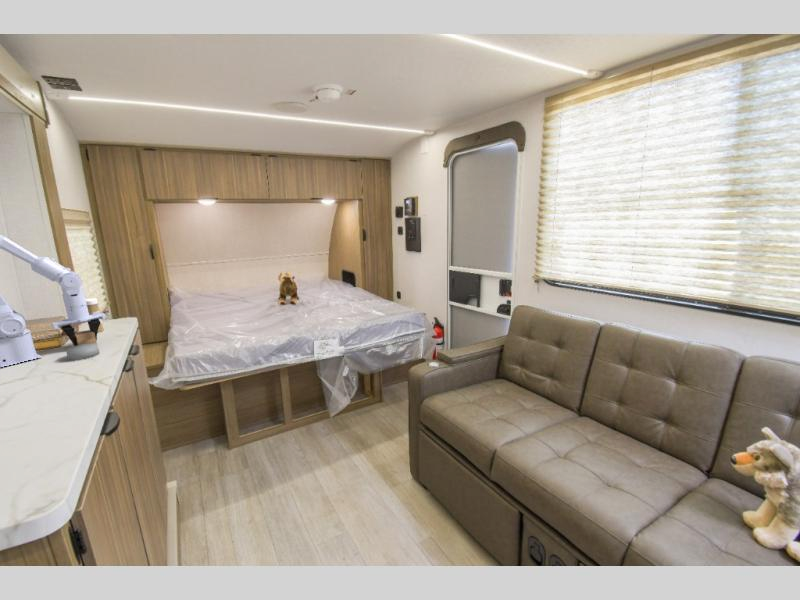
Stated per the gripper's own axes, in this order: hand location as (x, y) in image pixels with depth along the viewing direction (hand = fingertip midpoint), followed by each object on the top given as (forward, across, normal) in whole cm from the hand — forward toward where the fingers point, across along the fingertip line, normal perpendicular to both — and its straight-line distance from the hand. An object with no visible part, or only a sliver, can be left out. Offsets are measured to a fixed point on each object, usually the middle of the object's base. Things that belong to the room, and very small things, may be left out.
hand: (85, 342), depth 131 cm
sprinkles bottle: (+2, +9, +18) cm, 20 cm away
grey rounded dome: (+1, -4, -11) cm, 12 cm away
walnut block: (+1, 0, 0) cm, 1 cm away
